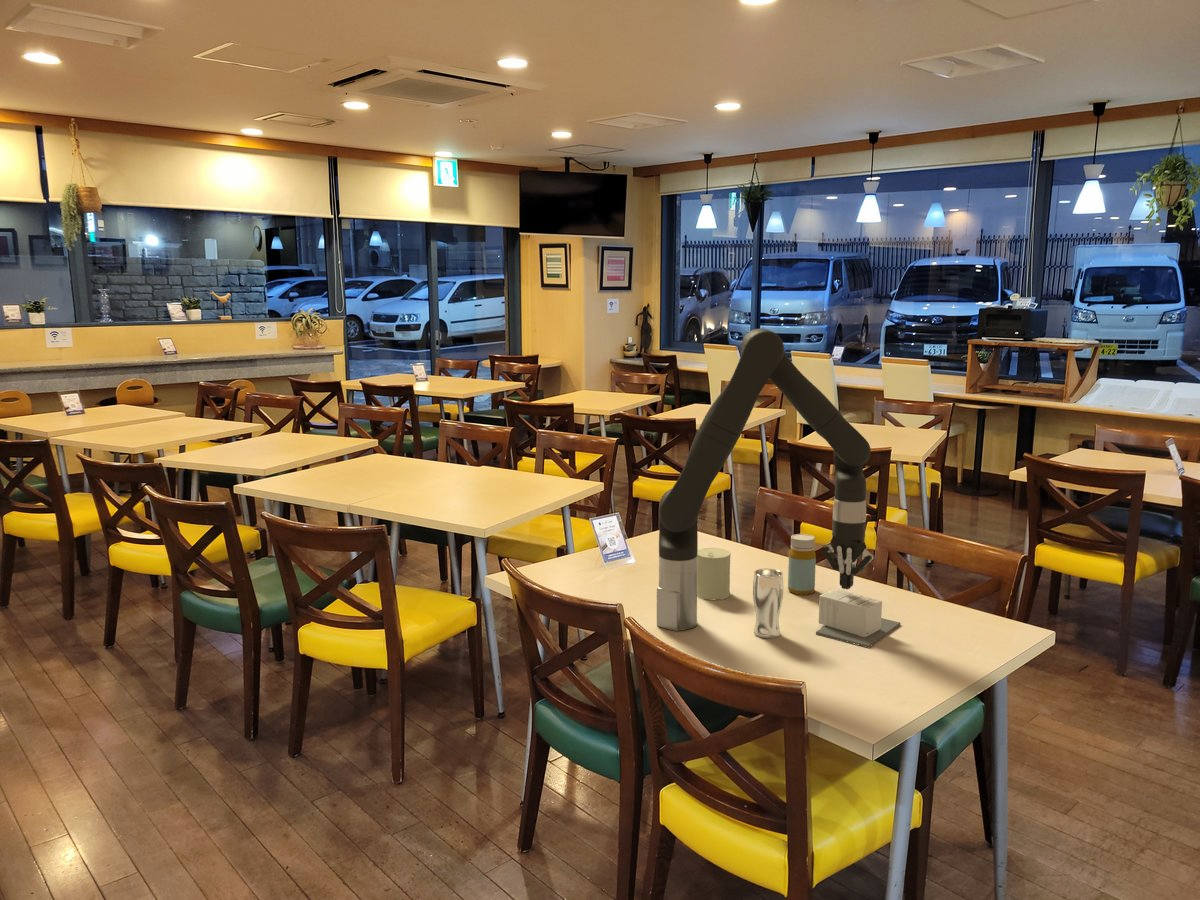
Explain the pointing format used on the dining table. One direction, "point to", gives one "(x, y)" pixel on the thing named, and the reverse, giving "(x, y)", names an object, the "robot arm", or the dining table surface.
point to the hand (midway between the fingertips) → (846, 588)
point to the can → (713, 573)
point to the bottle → (802, 564)
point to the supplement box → (850, 612)
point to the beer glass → (767, 601)
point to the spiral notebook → (867, 641)
